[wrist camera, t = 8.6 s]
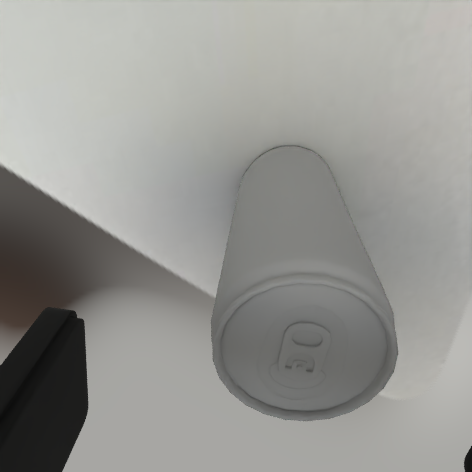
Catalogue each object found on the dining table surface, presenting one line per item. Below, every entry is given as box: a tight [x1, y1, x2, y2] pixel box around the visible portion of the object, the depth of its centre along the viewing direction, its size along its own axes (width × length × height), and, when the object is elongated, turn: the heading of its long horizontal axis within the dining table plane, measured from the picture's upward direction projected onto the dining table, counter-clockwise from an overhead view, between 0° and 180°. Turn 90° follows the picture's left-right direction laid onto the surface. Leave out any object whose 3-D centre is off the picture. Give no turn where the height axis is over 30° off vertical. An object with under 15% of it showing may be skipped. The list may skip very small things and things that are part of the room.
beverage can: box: [211, 146, 398, 421], centre depth 16 cm, size 5×5×12 cm
